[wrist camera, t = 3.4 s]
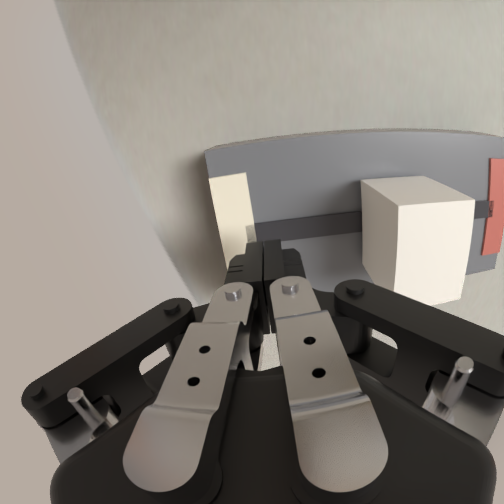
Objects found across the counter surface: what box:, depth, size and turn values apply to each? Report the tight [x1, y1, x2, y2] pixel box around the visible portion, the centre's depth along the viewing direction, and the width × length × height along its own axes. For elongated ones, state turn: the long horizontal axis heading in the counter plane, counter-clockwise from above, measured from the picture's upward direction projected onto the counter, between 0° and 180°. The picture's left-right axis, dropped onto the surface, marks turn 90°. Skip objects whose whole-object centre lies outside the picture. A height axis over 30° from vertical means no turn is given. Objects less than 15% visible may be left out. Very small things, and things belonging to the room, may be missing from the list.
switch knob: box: [361, 176, 475, 306], centre depth 13 cm, size 4×5×5 cm
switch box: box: [204, 129, 504, 292], centre depth 17 cm, size 20×10×4 cm, turn 99°
